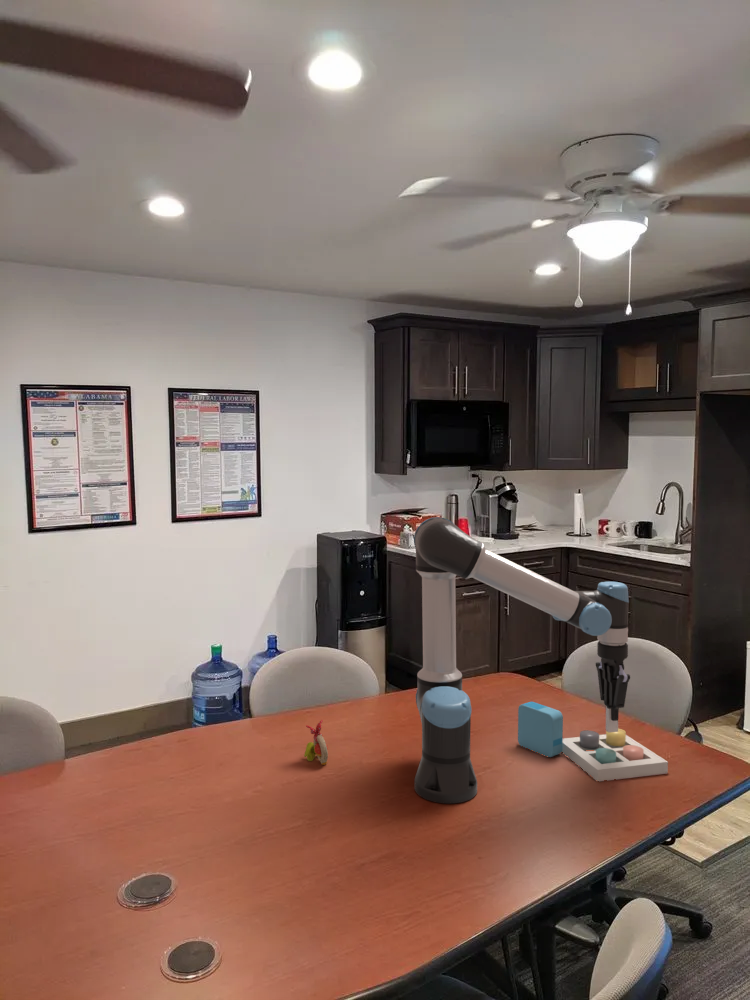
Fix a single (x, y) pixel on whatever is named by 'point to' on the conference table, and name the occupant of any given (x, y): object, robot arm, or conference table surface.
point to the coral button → (633, 752)
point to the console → (621, 767)
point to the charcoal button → (589, 739)
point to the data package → (540, 728)
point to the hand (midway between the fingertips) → (611, 730)
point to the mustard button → (616, 738)
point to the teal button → (605, 755)
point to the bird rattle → (317, 746)
